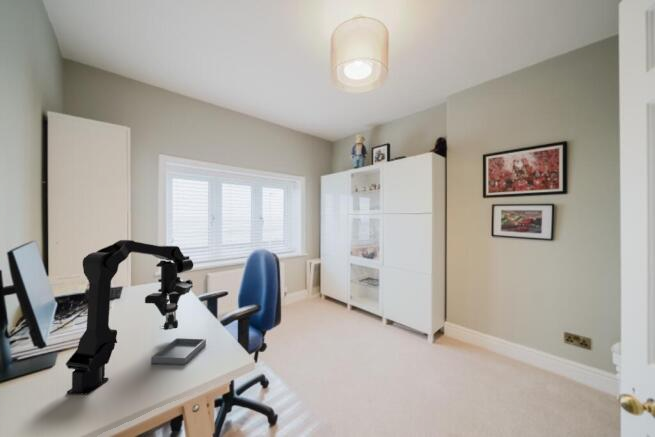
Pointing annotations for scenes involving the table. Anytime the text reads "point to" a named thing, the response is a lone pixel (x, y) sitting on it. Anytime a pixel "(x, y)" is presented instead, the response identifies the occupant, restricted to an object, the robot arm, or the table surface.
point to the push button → (170, 317)
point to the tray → (178, 351)
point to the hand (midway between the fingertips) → (168, 313)
